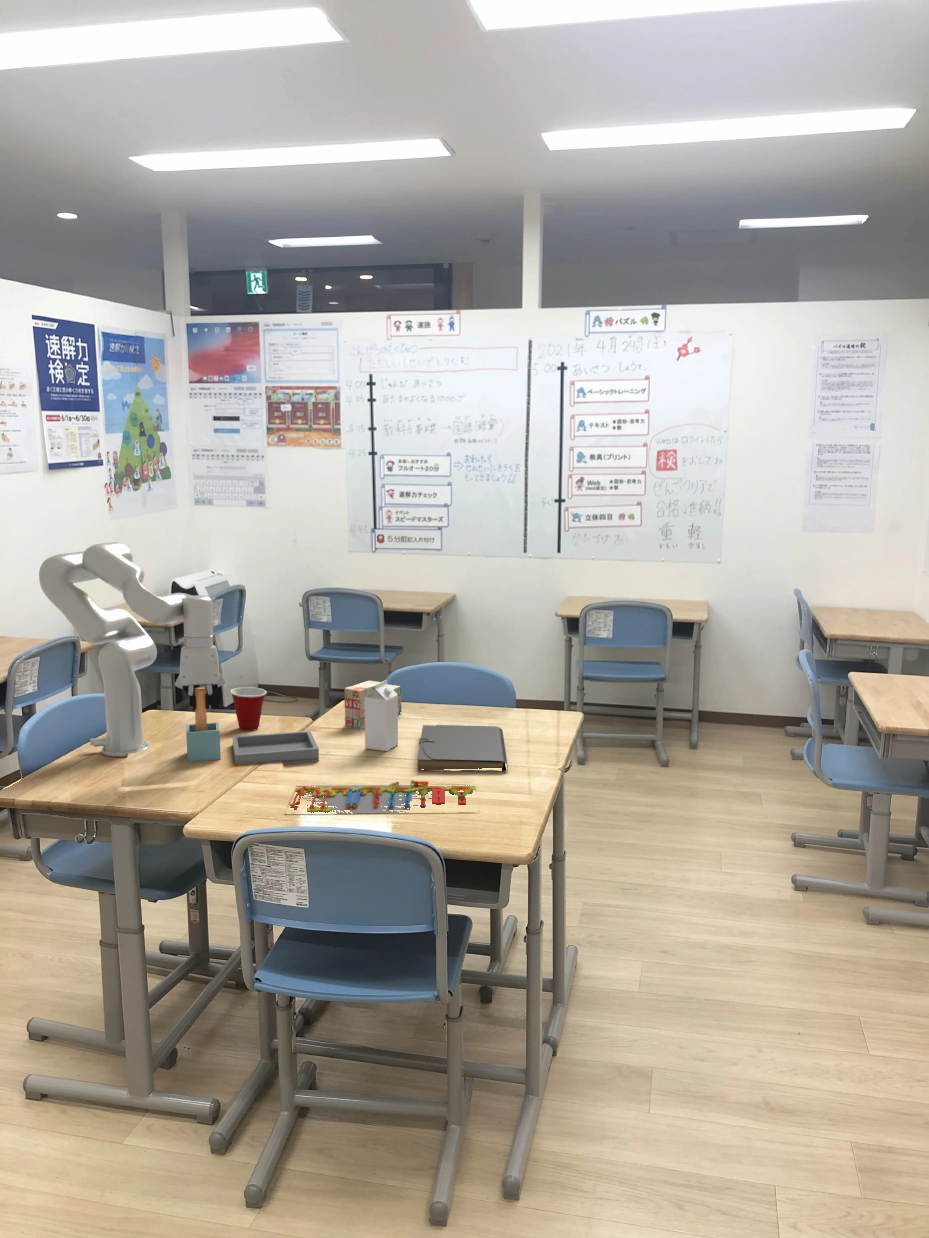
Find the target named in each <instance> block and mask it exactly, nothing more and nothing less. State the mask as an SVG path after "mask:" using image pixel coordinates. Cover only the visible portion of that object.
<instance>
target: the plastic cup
mask: <svg viewBox="0 0 929 1238" xmlns="http://www.w3.org/2000/svg"><path fill="white" fill-rule="evenodd" d="M230 694H231V696H232V700H233V705H234V708H235V713H236V714H235V715H236V719H237V724H238V727H239V730H241V731H245V730H251V731H254V730H253V729H256V730H258V729H259V728H258V727H260V723H261V722H260V720H261V716H262V709H263V704H264V699H265V696H266V695H267V690H265V689H263V688H261V687H260V688H259V687H253V686H243V687H235V688H232V689H230ZM257 728H258V729H257Z"/></svg>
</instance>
